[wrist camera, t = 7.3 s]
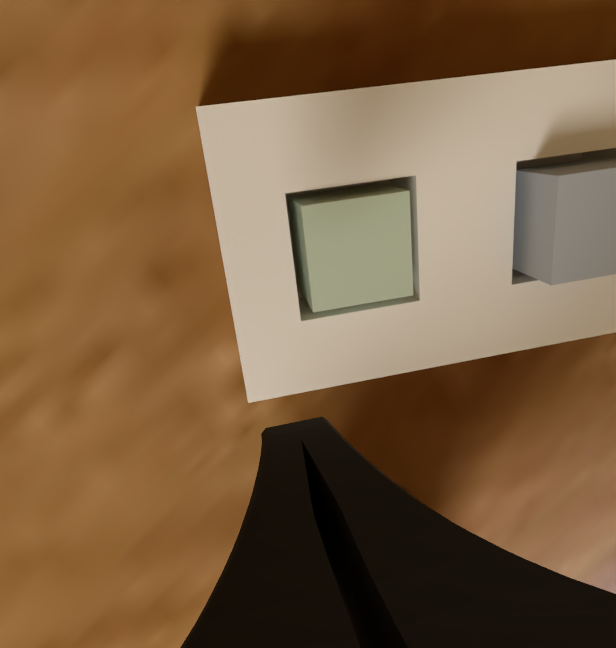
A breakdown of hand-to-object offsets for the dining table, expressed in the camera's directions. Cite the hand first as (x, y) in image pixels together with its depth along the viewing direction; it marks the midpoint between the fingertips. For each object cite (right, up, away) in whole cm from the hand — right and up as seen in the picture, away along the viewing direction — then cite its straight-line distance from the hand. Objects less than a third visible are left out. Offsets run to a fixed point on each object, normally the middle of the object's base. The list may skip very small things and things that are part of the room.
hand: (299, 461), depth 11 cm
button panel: (+9, +8, +10) cm, 16 cm away
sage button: (+1, +6, +9) cm, 11 cm away
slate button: (+9, +7, +8) cm, 15 cm away
